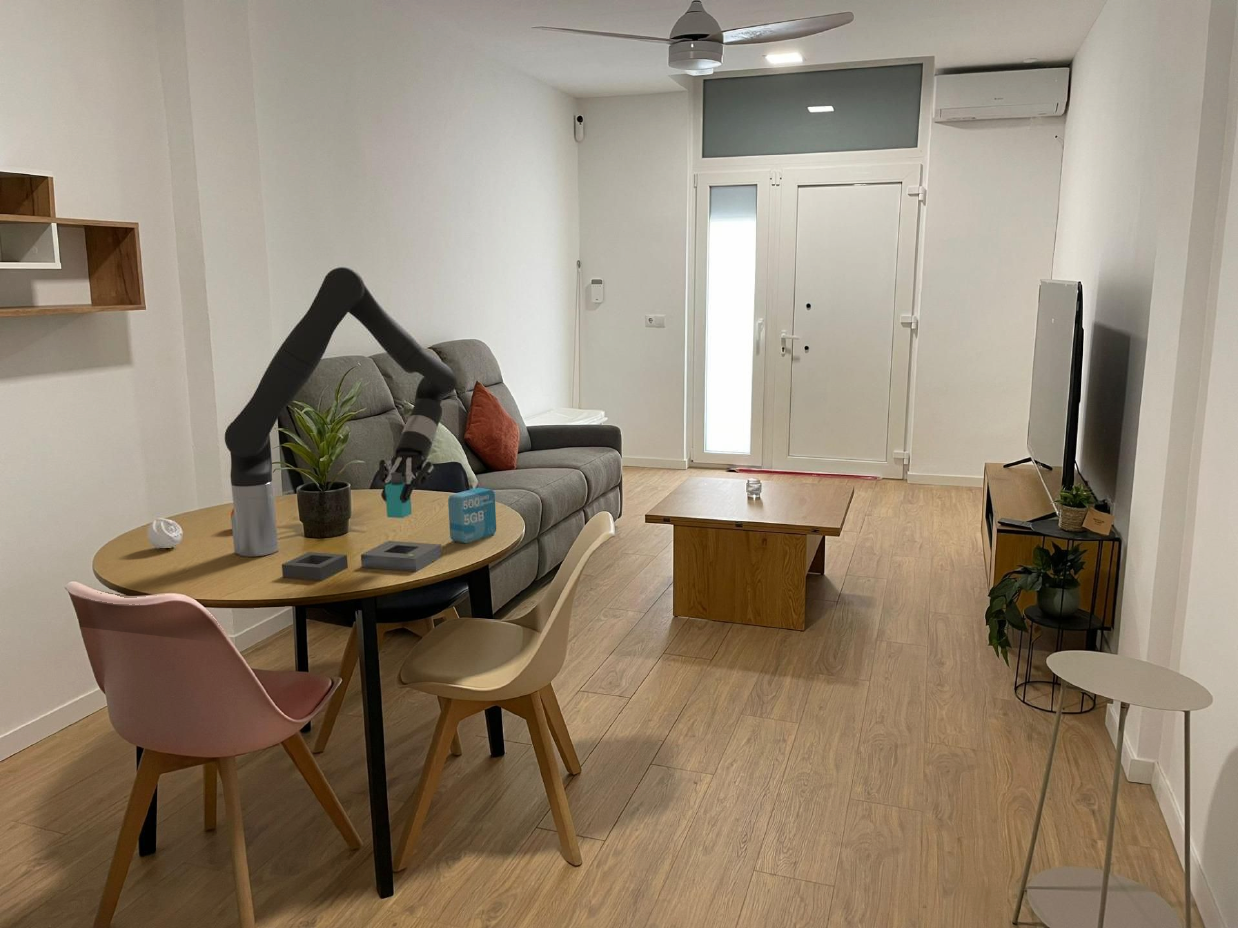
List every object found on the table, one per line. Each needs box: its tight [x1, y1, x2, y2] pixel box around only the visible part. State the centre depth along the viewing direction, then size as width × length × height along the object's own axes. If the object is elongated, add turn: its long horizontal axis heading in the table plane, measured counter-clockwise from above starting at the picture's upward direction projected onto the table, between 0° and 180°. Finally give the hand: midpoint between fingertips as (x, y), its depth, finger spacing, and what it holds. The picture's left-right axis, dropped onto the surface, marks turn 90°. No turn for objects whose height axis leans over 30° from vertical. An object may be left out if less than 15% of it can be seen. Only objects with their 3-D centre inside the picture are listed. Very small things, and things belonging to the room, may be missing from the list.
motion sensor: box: [146, 517, 183, 549], centre depth 231 cm, size 8×8×8 cm
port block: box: [360, 540, 443, 573], centre depth 216 cm, size 14×12×3 cm
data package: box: [447, 487, 497, 544], centre depth 235 cm, size 12×4×12 cm, turn 143°
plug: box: [385, 472, 413, 519], centre depth 214 cm, size 4×4×10 cm
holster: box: [281, 551, 348, 582], centre depth 210 cm, size 10×10×3 cm
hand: (394, 500), depth 212 cm, fingers closed on plug, 4 cm apart
